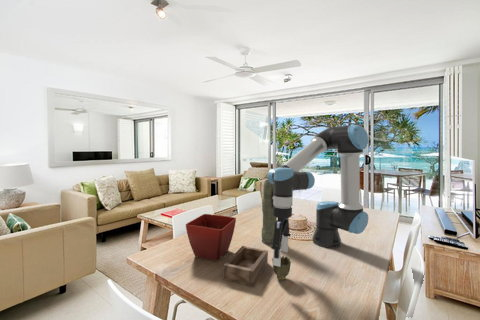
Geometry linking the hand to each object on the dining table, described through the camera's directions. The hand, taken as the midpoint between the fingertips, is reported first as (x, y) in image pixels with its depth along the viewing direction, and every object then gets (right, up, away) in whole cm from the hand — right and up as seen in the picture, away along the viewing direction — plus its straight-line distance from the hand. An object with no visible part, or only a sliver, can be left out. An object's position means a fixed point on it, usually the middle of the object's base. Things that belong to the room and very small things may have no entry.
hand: (280, 258), depth 96 cm
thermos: (0, -7, +39) cm, 39 cm away
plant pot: (-31, -7, +23) cm, 39 cm away
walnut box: (-14, -8, +7) cm, 17 cm away
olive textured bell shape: (0, -9, +1) cm, 9 cm away
